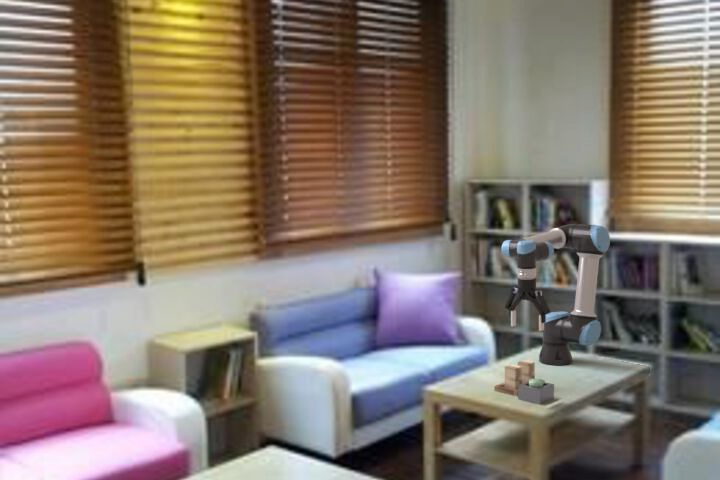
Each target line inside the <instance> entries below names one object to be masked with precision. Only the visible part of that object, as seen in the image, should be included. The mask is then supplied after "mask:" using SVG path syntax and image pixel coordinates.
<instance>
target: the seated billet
mask: <svg viewBox="0 0 720 480" xmlns="http://www.w3.org/2000/svg"><path fill="white" fill-rule="evenodd" d="M504 382H505V388H509V389H514V390H517V389H518V385H519V384H522V366H518V364H517V365H516V364H509V365H505V366H504Z"/></svg>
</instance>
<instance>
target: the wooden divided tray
mask: <svg viewBox="0 0 720 480" xmlns="http://www.w3.org/2000/svg"><path fill="white" fill-rule="evenodd" d="M542 380H543V379H542ZM543 382H545V380H543ZM493 390H494V392H498V393H502V394H506V395H511V396H513V397H514V396H515V397H518V389H517V390H514V389H509V388H505V381H503V382H501V383H499V384H496V385H494V389H493Z"/></svg>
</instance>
